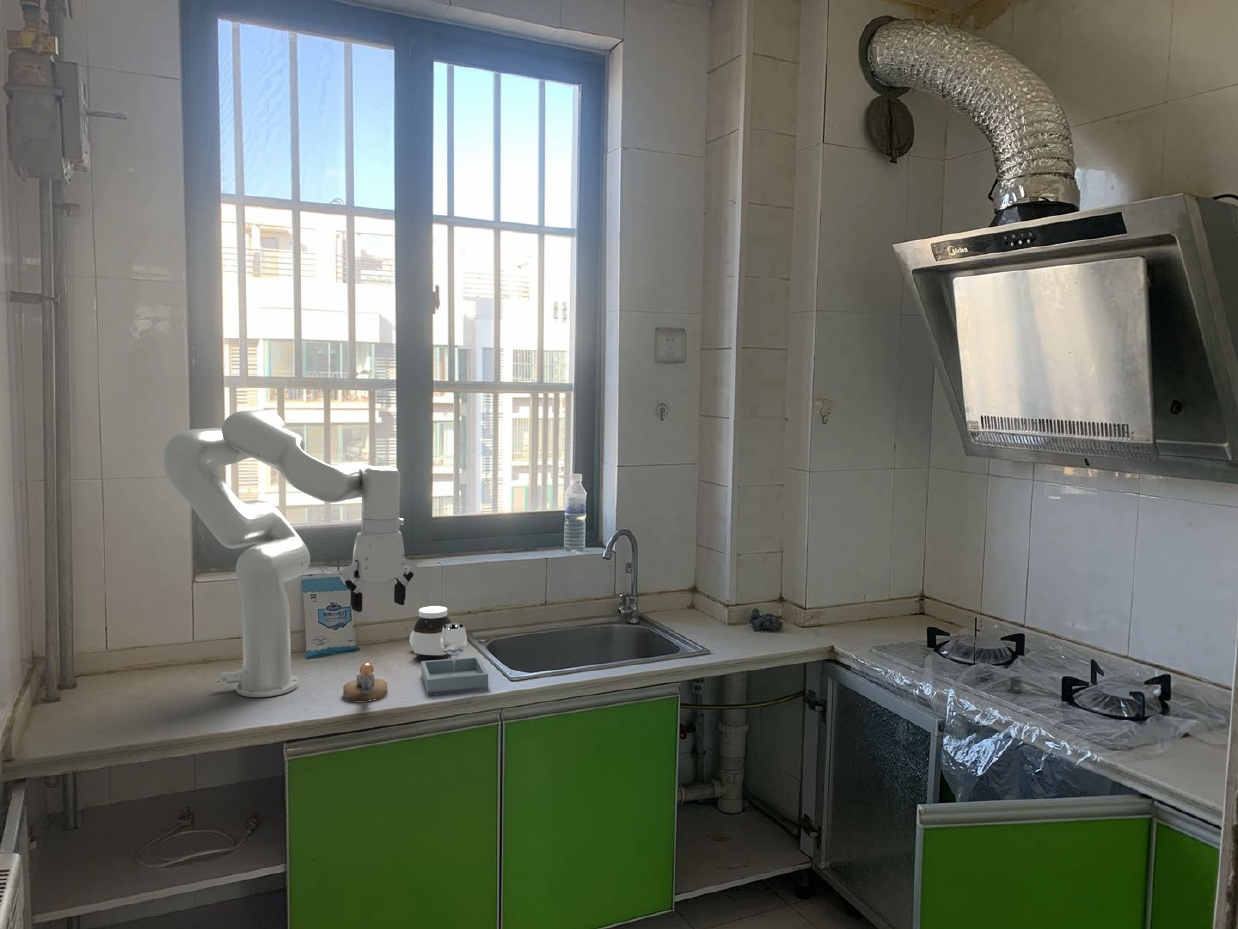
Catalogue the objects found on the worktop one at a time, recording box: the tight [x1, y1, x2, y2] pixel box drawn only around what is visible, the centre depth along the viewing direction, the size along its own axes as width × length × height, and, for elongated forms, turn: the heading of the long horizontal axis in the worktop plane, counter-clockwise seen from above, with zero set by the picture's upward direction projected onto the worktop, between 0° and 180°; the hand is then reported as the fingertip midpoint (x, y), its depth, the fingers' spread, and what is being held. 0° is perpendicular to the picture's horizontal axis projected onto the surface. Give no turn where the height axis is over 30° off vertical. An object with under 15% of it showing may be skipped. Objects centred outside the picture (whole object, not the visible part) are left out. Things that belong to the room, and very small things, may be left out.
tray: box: [420, 656, 489, 696], centre depth 194 cm, size 13×13×4 cm
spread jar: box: [409, 605, 453, 661], centre depth 214 cm, size 12×11×12 cm
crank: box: [356, 662, 375, 694], centre depth 182 cm, size 10×4×7 cm, turn 18°
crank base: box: [342, 678, 388, 702], centre depth 186 cm, size 9×9×2 cm
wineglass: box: [440, 623, 468, 677], centre depth 194 cm, size 6×6×12 cm
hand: (378, 607), depth 182 cm, fingers open, 9 cm apart
